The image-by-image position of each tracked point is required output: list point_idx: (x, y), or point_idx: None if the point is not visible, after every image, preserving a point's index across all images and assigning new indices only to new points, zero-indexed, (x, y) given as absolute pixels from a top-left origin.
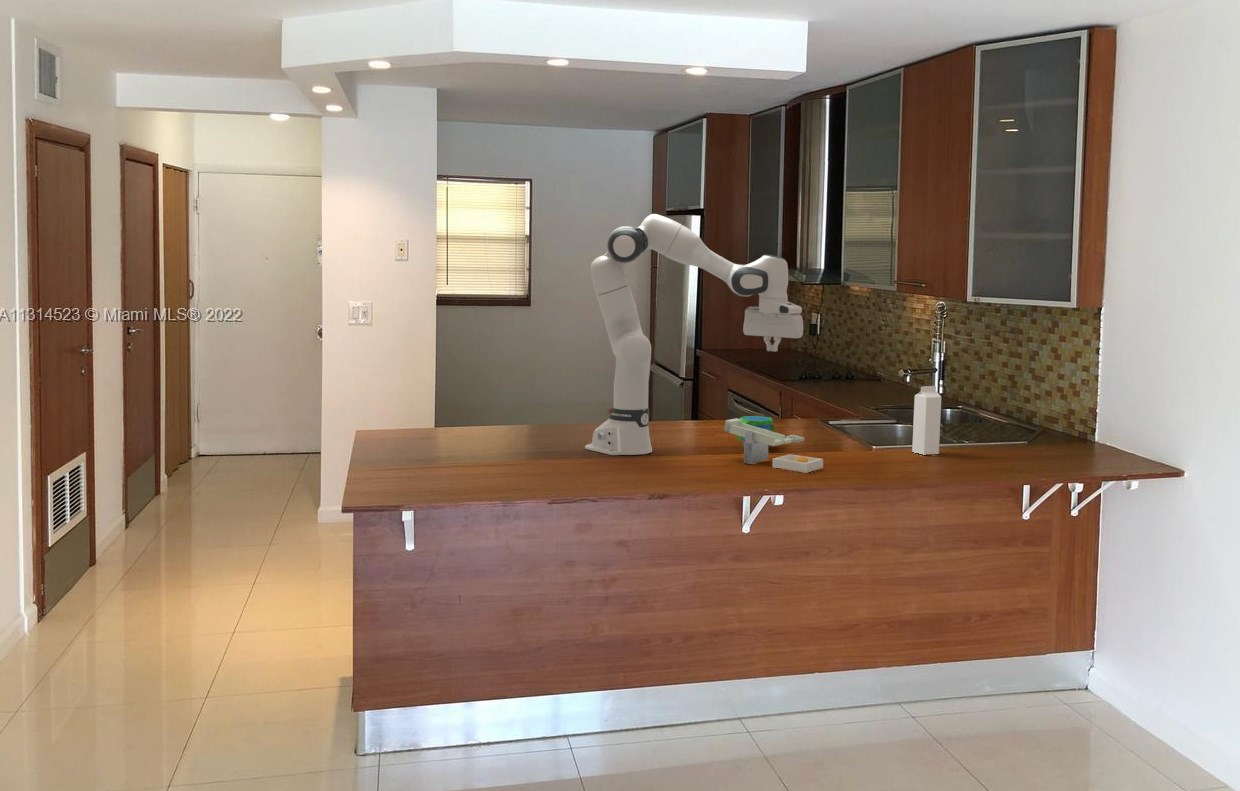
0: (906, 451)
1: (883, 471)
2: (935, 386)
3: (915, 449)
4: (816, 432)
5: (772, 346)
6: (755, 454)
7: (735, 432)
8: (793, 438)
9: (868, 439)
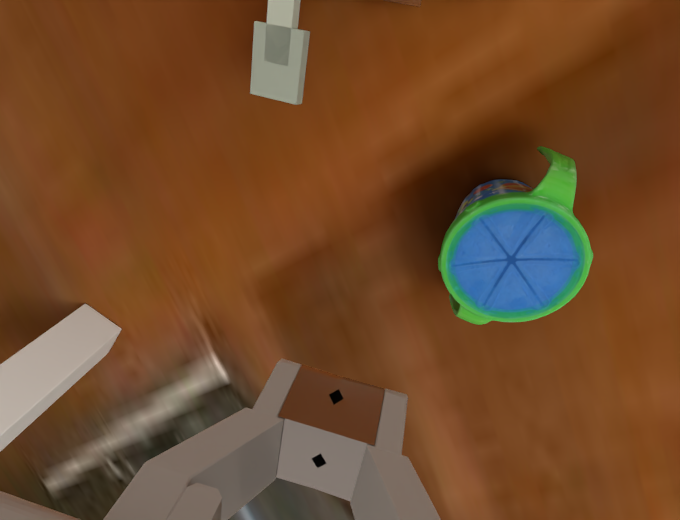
0: (140, 342)
1: (35, 47)
2: None
3: (104, 327)
4: None
5: (294, 409)
6: None
7: None
8: (269, 34)
9: None
